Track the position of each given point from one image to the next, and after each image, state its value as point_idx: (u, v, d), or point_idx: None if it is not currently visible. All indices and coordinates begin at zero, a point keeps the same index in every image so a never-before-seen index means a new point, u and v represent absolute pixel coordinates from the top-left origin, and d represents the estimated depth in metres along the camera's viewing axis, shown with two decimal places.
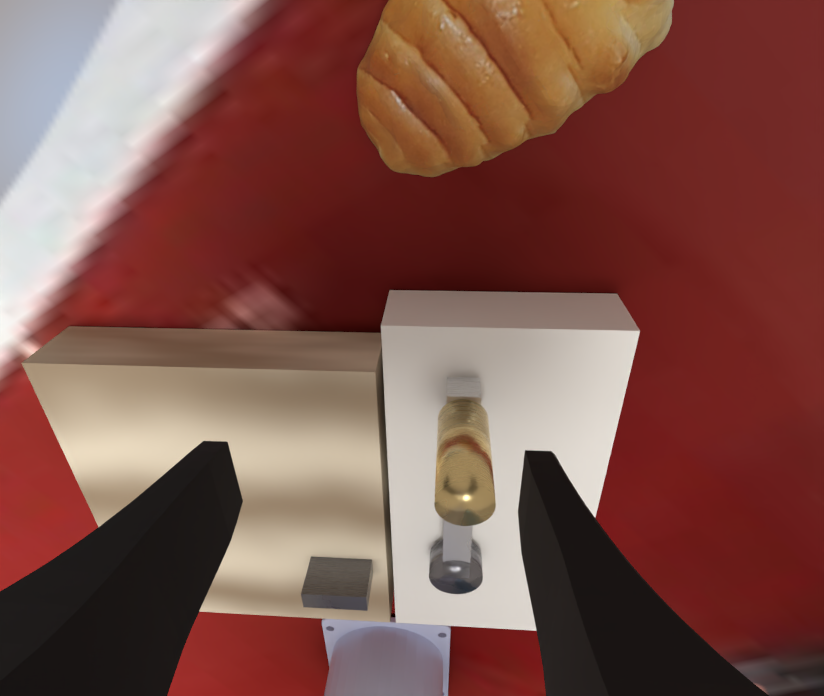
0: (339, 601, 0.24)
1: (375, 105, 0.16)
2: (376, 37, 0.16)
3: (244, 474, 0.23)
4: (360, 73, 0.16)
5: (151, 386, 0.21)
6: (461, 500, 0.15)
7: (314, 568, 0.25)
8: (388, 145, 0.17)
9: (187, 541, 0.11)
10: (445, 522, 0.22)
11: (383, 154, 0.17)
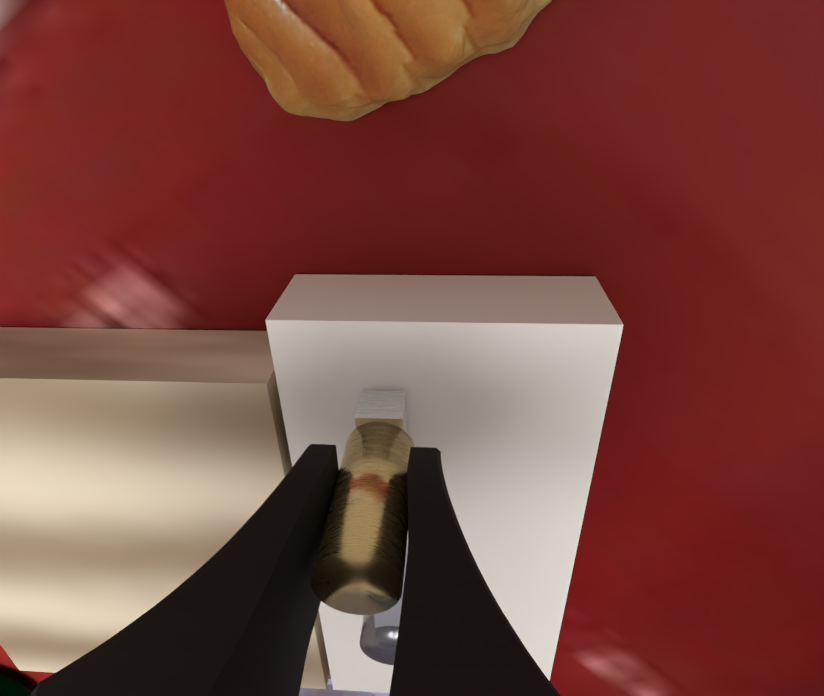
0: None
1: (247, 10, 0.11)
2: None
3: (117, 515, 0.18)
4: None
5: None
6: (350, 581, 0.10)
7: None
8: (274, 73, 0.12)
9: (310, 546, 0.11)
10: None
11: (271, 88, 0.12)
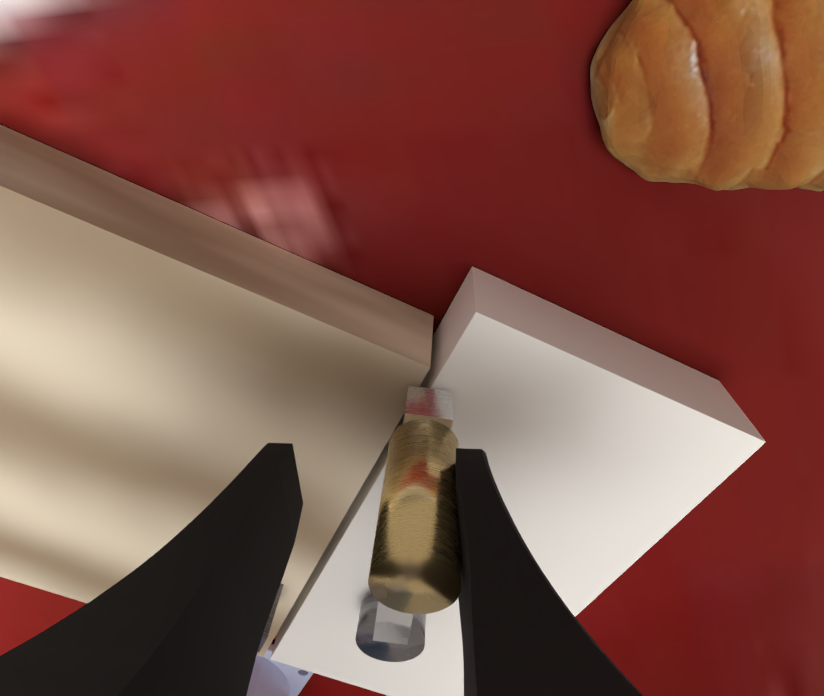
0: None
1: (652, 51, 0.11)
2: None
3: (166, 430, 0.16)
4: None
5: (85, 258, 0.13)
6: (410, 579, 0.10)
7: None
8: (630, 114, 0.12)
9: (261, 544, 0.11)
10: None
11: (613, 123, 0.12)
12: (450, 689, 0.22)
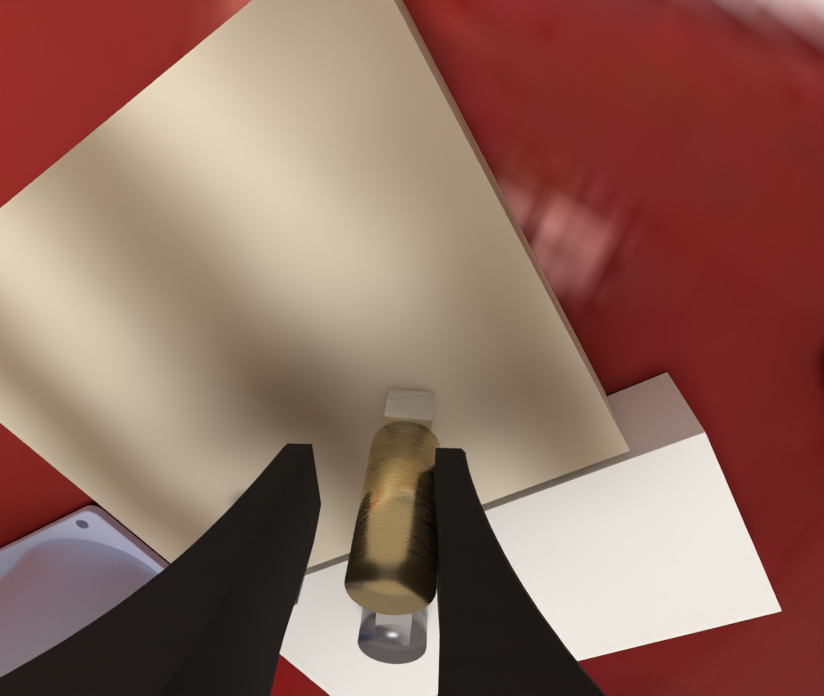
0: None
1: None
2: None
3: (349, 374, 0.14)
4: None
5: (444, 194, 0.12)
6: (385, 581, 0.10)
7: None
8: None
9: (283, 545, 0.11)
10: None
11: None
12: (369, 689, 0.23)
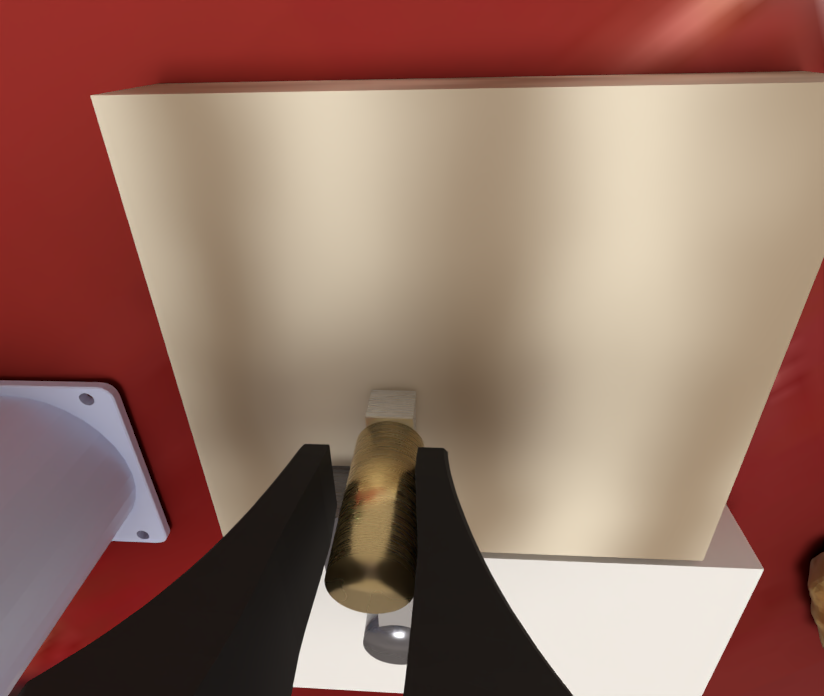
0: None
1: None
2: None
3: (550, 408, 0.15)
4: None
5: (758, 315, 0.13)
6: (364, 580, 0.10)
7: None
8: None
9: (304, 546, 0.11)
10: None
11: None
12: (305, 667, 0.22)
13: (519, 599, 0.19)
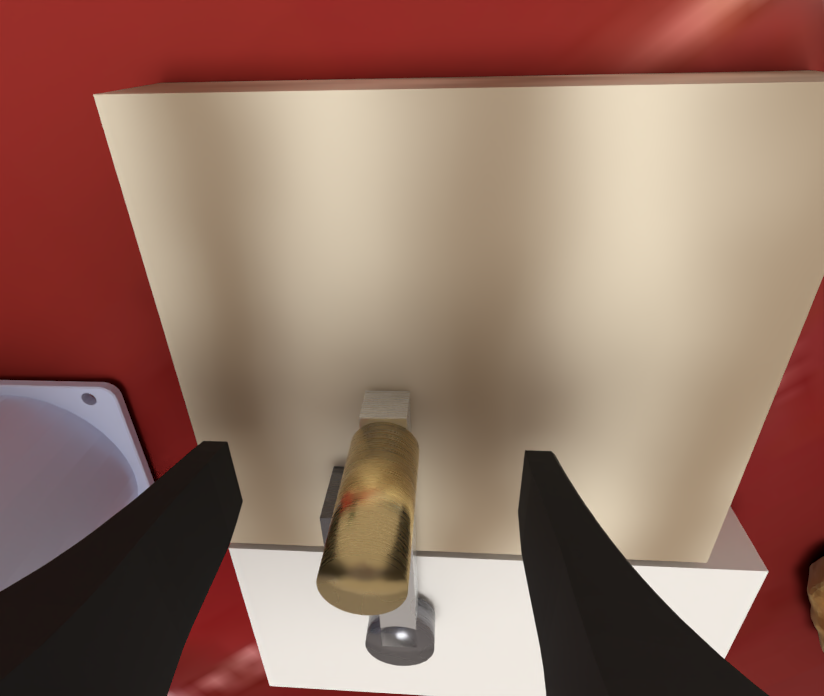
0: None
1: None
2: None
3: (554, 409, 0.14)
4: None
5: (764, 317, 0.13)
6: (356, 581, 0.10)
7: None
8: None
9: (187, 541, 0.11)
10: None
11: None
12: (307, 668, 0.22)
13: (522, 600, 0.19)
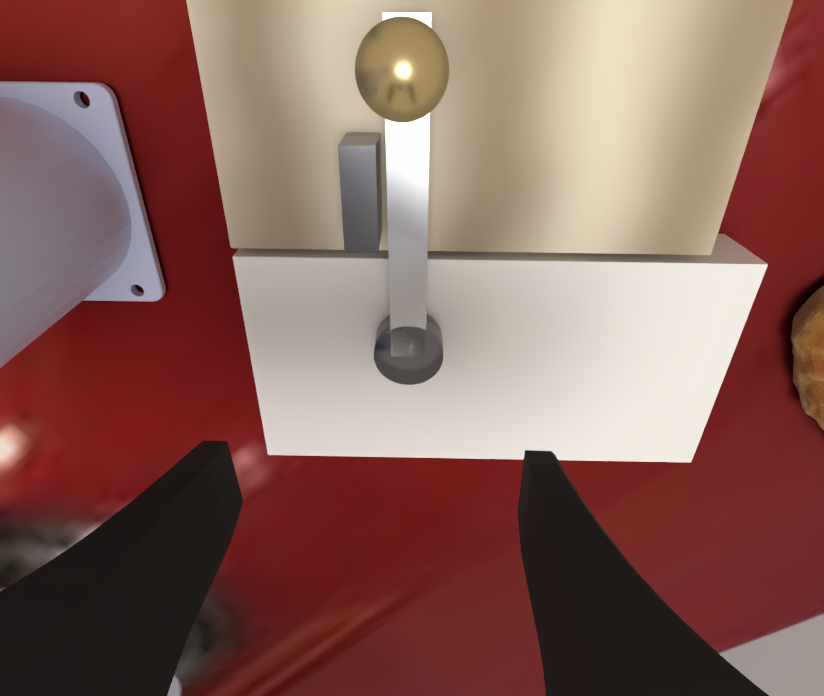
0: (361, 210, 0.15)
1: None
2: None
3: (573, 42, 0.14)
4: None
5: None
6: (396, 61, 0.10)
7: (379, 148, 0.15)
8: None
9: (187, 541, 0.11)
10: (391, 259, 0.16)
11: None
12: (308, 426, 0.22)
13: (529, 317, 0.19)
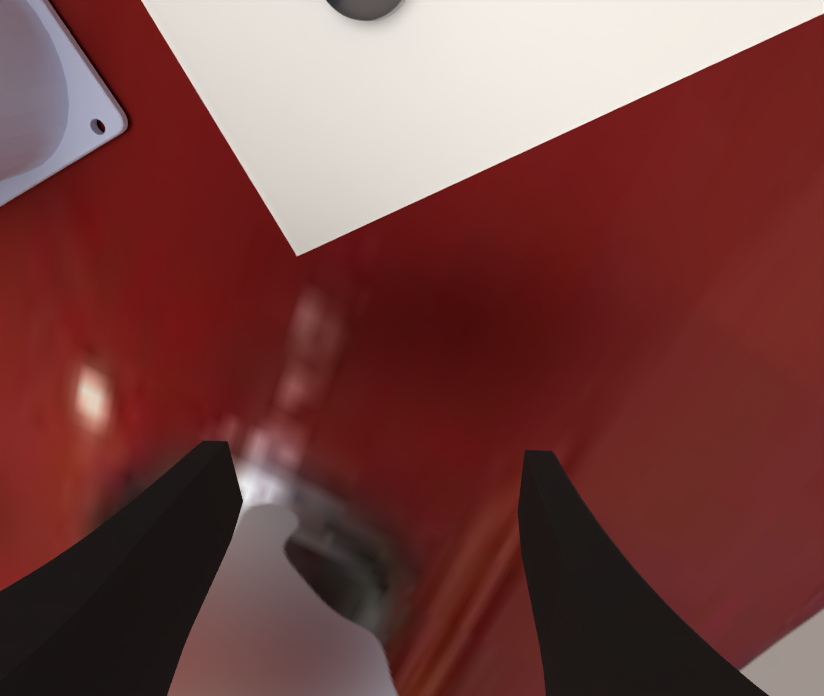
0: None
1: None
2: None
3: None
4: None
5: None
6: None
7: None
8: None
9: (187, 541, 0.11)
10: None
11: None
12: (320, 190, 0.17)
13: None
